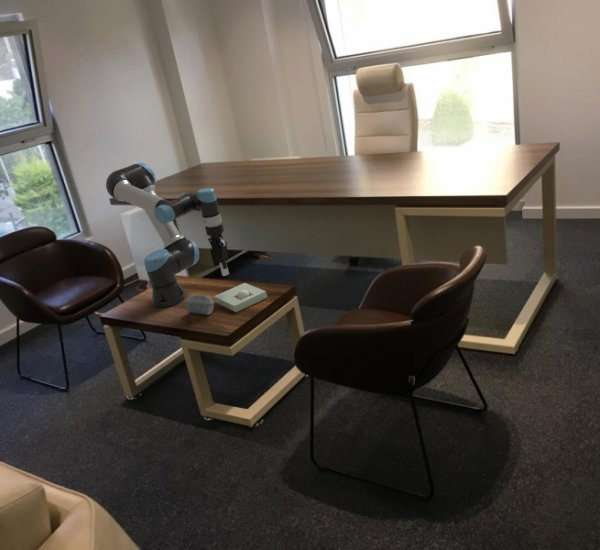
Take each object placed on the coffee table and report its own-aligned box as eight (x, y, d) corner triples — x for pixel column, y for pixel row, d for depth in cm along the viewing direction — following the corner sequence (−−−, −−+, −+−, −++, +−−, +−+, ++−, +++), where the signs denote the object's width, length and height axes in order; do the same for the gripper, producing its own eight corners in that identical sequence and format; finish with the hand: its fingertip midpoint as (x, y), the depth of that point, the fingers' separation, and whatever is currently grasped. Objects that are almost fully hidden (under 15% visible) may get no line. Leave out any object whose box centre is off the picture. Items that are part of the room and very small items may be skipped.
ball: (241, 296, 251) (242, 305, 254) (251, 291, 254) (251, 300, 257) (234, 290, 254) (235, 299, 257) (244, 286, 257) (245, 294, 260)
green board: (215, 302, 262) (214, 296, 261) (246, 288, 270) (244, 282, 269) (236, 312, 248) (234, 306, 247) (267, 297, 256) (265, 291, 254)
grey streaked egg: (177, 310, 254) (184, 288, 252) (193, 310, 261) (199, 289, 260) (199, 322, 246) (206, 299, 245) (215, 321, 254) (221, 299, 252)
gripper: (198, 224, 256) (211, 274, 265) (213, 229, 246) (225, 281, 255) (213, 219, 260) (225, 268, 269) (228, 224, 249) (240, 274, 259)
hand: (225, 274), depth 262 cm, fingers closed
